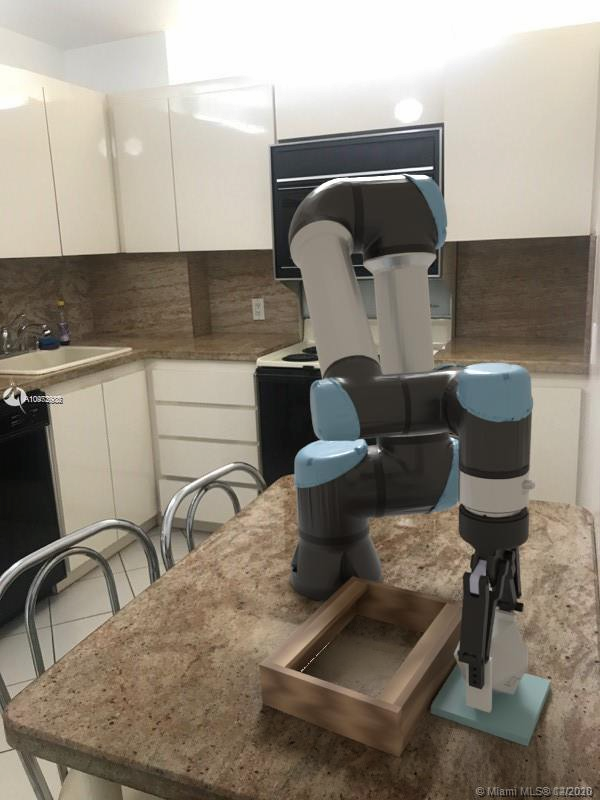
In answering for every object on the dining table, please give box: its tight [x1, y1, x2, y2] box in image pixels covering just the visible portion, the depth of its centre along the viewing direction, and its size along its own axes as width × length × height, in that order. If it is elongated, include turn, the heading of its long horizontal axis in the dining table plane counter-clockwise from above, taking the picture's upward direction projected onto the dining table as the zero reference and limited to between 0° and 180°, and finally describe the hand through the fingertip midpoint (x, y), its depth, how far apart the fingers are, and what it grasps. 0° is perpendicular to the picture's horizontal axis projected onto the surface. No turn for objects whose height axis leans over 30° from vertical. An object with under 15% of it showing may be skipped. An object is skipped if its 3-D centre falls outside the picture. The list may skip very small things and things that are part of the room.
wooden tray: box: [258, 576, 463, 758], centre depth 85 cm, size 18×24×6 cm
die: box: [454, 619, 530, 695], centre depth 78 cm, size 8×9×10 cm
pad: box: [430, 663, 552, 747], centre depth 79 cm, size 11×11×1 cm
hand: (491, 681), depth 78 cm, fingers closed on die, 9 cm apart
